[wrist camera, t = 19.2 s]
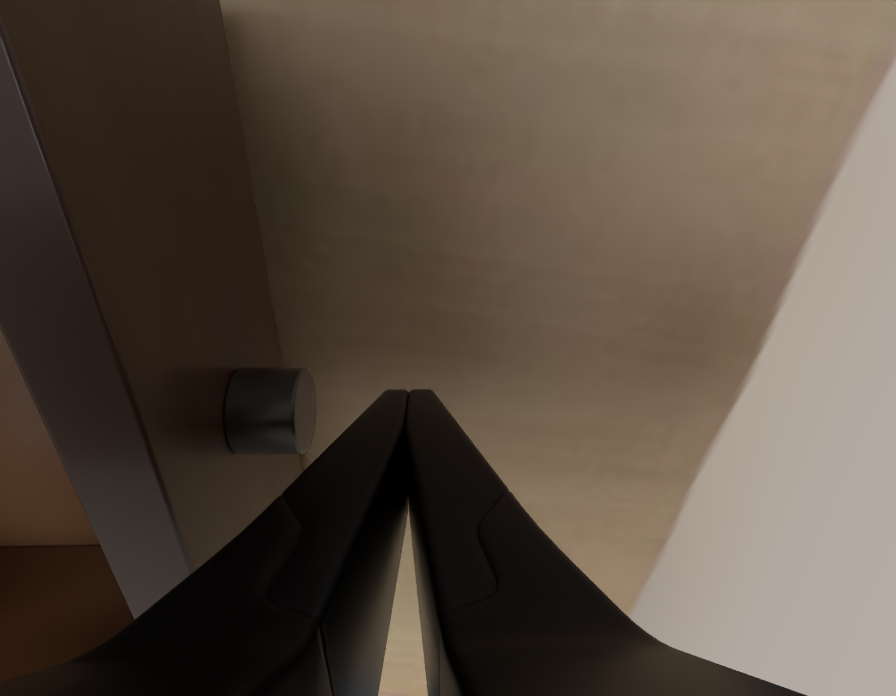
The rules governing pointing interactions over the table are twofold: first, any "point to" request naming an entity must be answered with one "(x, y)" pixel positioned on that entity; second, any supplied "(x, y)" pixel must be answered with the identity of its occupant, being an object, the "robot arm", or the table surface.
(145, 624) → the robot arm
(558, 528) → the table surface
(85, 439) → the drawer
